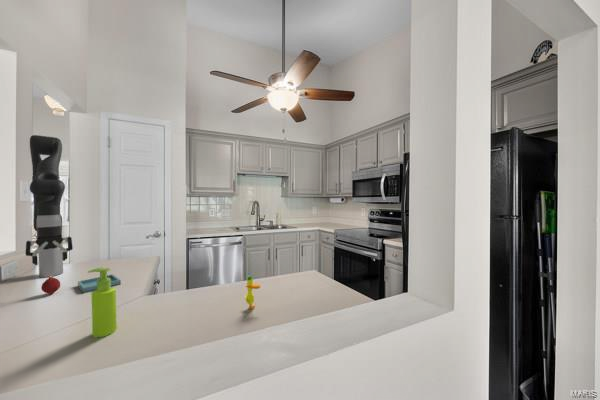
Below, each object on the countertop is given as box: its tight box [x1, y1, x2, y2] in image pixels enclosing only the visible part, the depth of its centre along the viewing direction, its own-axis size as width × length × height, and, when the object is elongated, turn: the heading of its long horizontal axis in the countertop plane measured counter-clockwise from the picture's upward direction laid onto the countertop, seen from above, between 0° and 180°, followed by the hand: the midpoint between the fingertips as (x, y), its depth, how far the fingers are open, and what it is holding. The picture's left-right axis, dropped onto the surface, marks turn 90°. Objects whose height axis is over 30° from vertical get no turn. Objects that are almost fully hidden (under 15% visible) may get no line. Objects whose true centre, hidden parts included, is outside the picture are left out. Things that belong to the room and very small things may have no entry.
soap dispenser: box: [87, 267, 118, 339], centre depth 76 cm, size 6×7×20 cm
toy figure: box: [243, 275, 261, 310], centre depth 92 cm, size 7×4×12 cm, turn 77°
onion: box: [41, 276, 61, 295], centre depth 107 cm, size 6×6×8 cm
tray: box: [77, 273, 122, 294], centre depth 117 cm, size 14×14×2 cm
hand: (50, 262), depth 107 cm, fingers open, 8 cm apart
